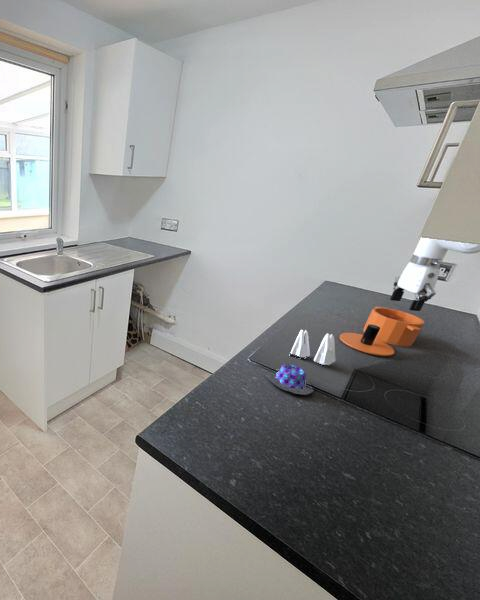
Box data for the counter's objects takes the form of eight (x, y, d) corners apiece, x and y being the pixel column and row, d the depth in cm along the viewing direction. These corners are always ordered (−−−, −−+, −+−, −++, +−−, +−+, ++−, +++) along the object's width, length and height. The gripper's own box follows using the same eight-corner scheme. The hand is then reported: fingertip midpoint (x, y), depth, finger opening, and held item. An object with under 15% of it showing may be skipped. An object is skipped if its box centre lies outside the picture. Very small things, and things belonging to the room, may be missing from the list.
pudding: (313, 403, 84) (320, 388, 82) (264, 386, 90) (269, 371, 88) (312, 381, 94) (318, 366, 91) (267, 367, 99) (271, 353, 97)
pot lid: (374, 338, 121) (383, 319, 118) (404, 360, 107) (415, 340, 104) (330, 333, 124) (338, 314, 121) (354, 353, 110) (363, 333, 106)
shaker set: (333, 365, 102) (346, 336, 98) (332, 371, 99) (345, 341, 95) (291, 351, 109) (301, 323, 105) (289, 355, 106) (299, 327, 102)
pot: (389, 327, 131) (400, 307, 127) (428, 352, 113) (442, 330, 109) (351, 323, 133) (360, 303, 130) (383, 347, 115) (395, 324, 112)
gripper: (460, 269, 103) (435, 316, 109) (418, 256, 118) (398, 298, 125) (433, 267, 104) (410, 313, 110) (395, 254, 119) (377, 296, 126)
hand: (404, 305), depth 118 cm, fingers open, 9 cm apart
